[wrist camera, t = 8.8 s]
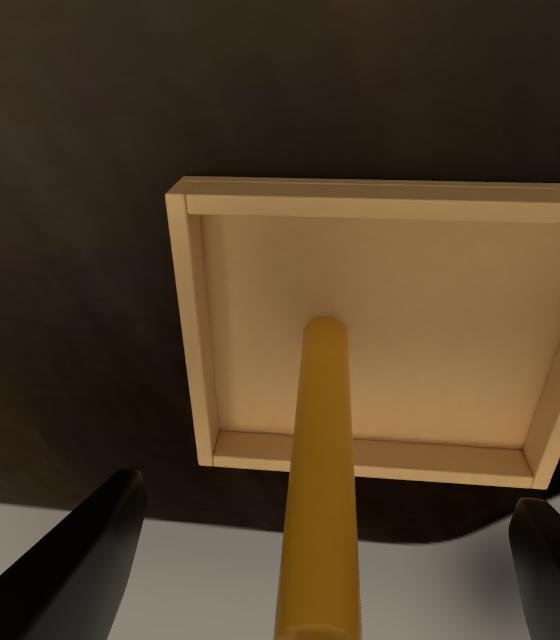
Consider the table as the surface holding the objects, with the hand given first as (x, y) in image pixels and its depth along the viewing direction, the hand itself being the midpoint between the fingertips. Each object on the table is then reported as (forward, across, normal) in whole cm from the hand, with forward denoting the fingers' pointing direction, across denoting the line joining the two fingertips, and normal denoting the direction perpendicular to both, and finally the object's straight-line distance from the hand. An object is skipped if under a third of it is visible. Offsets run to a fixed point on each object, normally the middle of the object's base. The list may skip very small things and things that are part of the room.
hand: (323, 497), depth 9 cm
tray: (+6, -2, 0) cm, 6 cm away
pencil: (+6, 0, 0) cm, 6 cm away
